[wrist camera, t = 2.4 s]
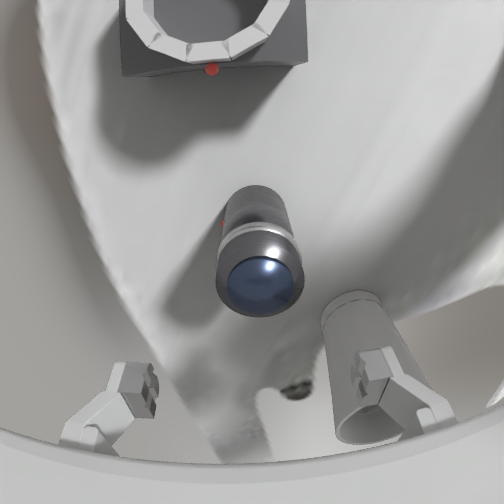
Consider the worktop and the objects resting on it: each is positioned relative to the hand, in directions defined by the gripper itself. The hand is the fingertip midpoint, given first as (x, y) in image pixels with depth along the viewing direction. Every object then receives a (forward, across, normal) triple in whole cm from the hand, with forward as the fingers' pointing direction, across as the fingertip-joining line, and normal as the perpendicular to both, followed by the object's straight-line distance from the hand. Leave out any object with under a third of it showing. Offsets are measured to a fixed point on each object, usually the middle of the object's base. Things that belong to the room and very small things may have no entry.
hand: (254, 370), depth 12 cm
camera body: (+14, +1, -15) cm, 21 cm away
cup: (+15, -10, +11) cm, 21 cm away
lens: (+14, -1, 0) cm, 15 cm away
